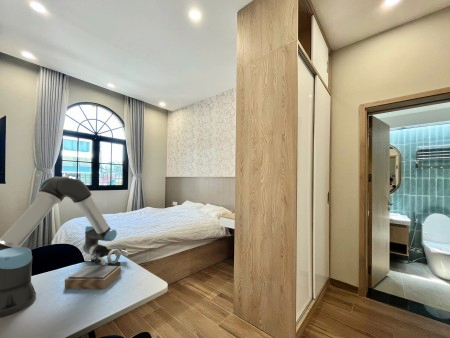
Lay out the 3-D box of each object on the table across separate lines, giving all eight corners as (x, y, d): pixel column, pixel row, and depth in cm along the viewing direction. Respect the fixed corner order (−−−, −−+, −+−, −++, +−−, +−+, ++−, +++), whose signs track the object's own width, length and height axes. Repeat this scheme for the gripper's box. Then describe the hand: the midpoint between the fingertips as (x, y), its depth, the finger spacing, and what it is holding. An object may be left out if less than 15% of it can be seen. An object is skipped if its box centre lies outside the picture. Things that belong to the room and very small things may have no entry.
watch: (122, 265, 120) (122, 247, 121) (112, 271, 113) (112, 252, 113) (115, 264, 122) (115, 246, 122) (104, 270, 114) (104, 251, 114)
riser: (64, 288, 96) (64, 277, 96) (86, 274, 110) (86, 264, 110) (103, 289, 95) (104, 278, 95) (120, 274, 109) (120, 265, 109)
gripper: (117, 250, 138) (135, 256, 127) (76, 264, 117) (93, 273, 106) (117, 239, 138) (135, 245, 127) (76, 251, 117) (93, 259, 106)
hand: (116, 257), depth 116 cm, fingers open, 13 cm apart
